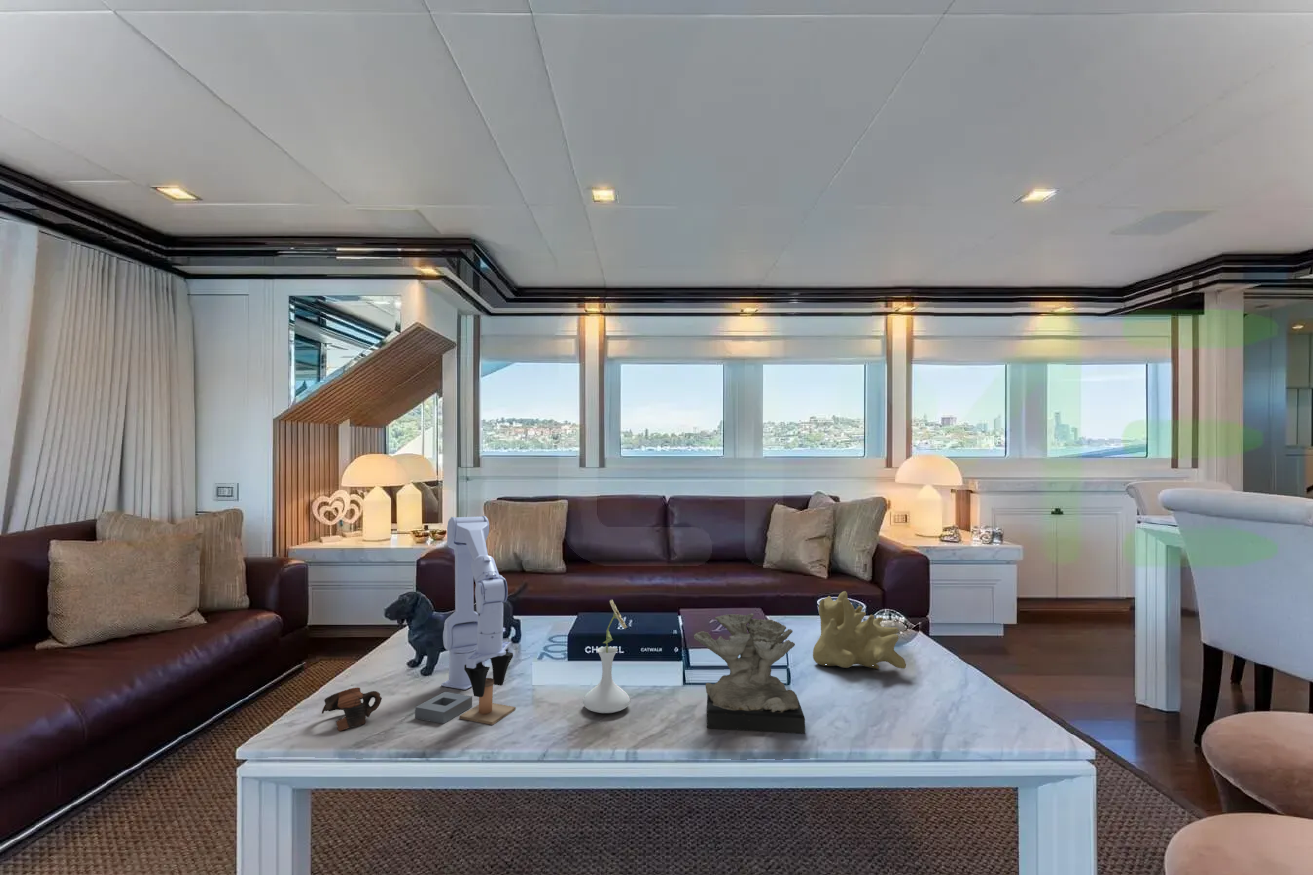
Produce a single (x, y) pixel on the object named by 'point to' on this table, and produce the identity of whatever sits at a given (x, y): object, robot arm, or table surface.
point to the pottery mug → (352, 706)
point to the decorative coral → (853, 637)
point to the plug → (486, 697)
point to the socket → (443, 707)
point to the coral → (751, 678)
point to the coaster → (490, 718)
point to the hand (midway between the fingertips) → (488, 690)
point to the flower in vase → (607, 679)
